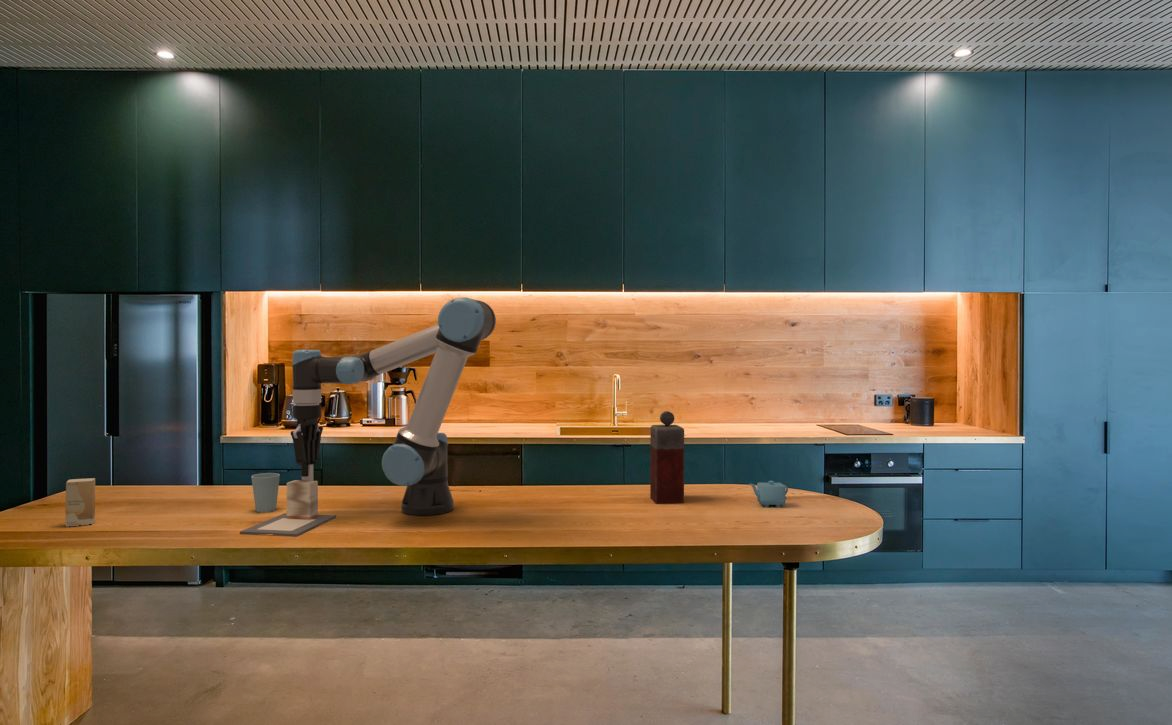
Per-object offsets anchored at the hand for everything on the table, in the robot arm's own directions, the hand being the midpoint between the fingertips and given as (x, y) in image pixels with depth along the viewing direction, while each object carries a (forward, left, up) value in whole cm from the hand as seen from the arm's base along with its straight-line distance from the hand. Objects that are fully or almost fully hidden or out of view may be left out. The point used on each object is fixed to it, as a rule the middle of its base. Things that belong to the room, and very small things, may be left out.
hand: (307, 487), depth 203 cm
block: (0, +3, -8) cm, 8 cm away
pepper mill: (-99, -39, -9) cm, 107 cm away
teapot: (-130, -36, -9) cm, 135 cm away
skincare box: (+57, +17, -9) cm, 60 cm away
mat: (0, +9, -9) cm, 12 cm away
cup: (+17, -6, -9) cm, 20 cm away
